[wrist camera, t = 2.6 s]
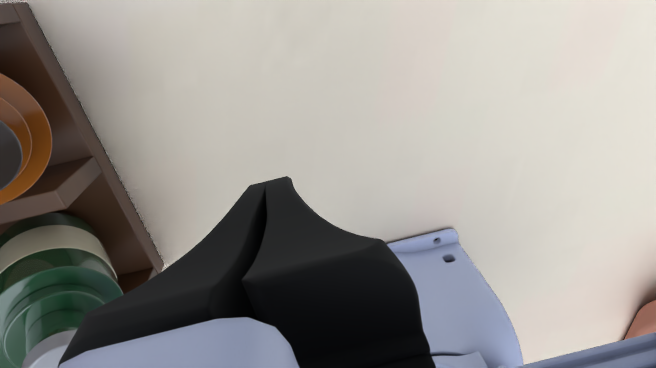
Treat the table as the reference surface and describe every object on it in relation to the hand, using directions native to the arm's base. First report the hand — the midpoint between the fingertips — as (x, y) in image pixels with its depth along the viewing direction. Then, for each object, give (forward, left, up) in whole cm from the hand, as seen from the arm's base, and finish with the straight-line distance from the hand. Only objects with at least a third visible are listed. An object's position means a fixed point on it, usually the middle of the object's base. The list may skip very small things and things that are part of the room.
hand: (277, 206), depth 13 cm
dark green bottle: (+14, +4, -8) cm, 16 cm away
